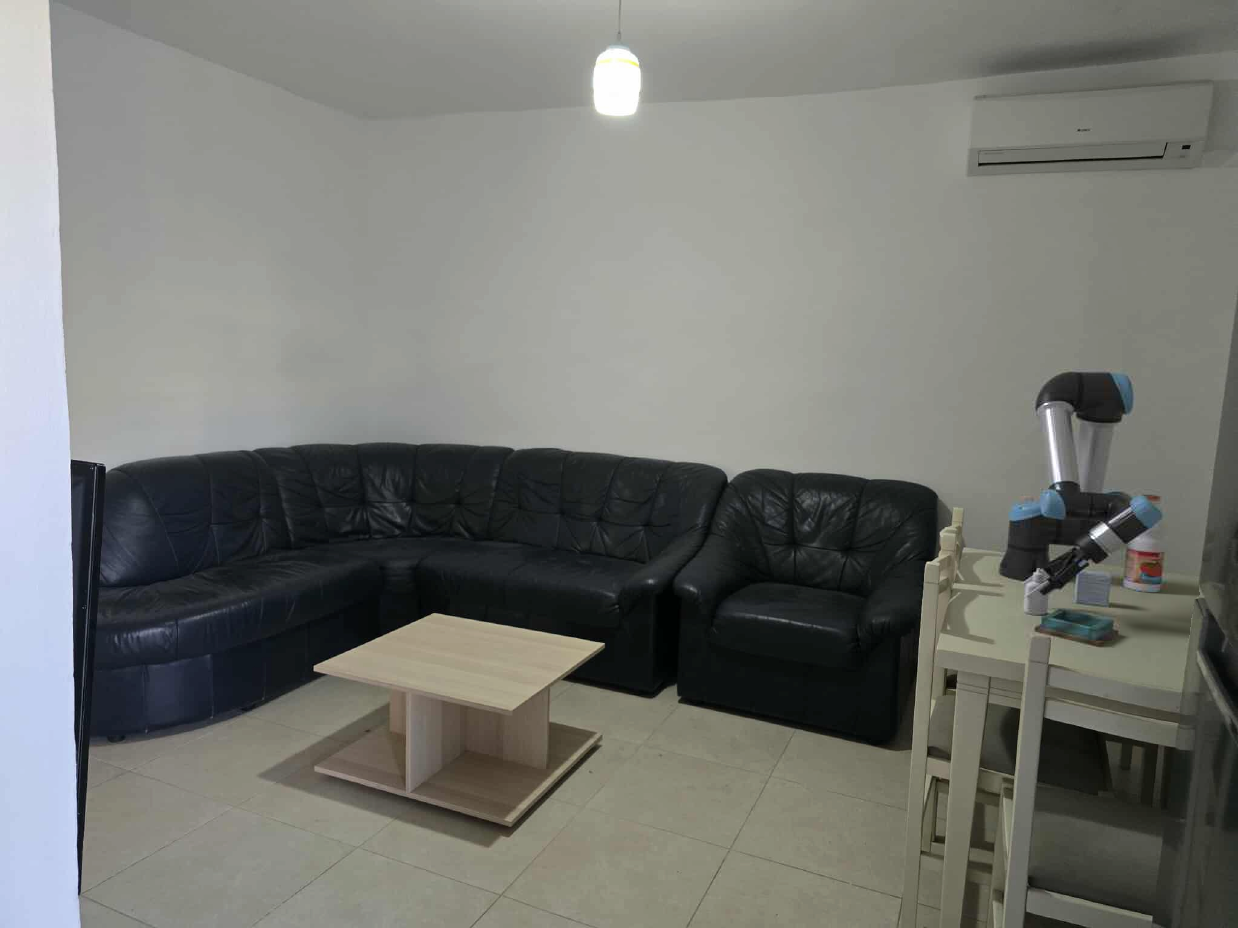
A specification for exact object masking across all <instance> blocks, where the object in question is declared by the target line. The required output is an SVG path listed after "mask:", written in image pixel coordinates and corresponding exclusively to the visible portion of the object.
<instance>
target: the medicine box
mask: <svg viewBox="0 0 1238 928" xmlns="http://www.w3.org/2000/svg"><path fill="white" fill-rule="evenodd" d="M1111 583H1112V576H1111V574H1110V573H1109V572H1104V571H1102V572H1101V571H1095V570H1094V571H1093V570H1087V569H1086V570H1084V569H1083V570H1082V571H1081V572H1080V573H1078V574H1077V575H1076V576H1075V587H1074V601H1075V603H1076V604H1082V605H1083V604H1085V605H1092V606H1099V607H1106V608H1107V607H1109V602H1110V593H1111Z"/></svg>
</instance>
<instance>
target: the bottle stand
mask: <svg viewBox="0 0 1238 928" xmlns="http://www.w3.org/2000/svg"><path fill="white" fill-rule="evenodd" d="M1040 622H1041V623H1040V624H1038V625H1035V627H1034V632H1036V633H1041V634H1044V633H1045V635H1048V636H1053V637H1058V638H1061V639H1066V640H1069V641H1074V642H1078V643H1082V644H1086V645H1089V646H1094V647H1098V648H1099V647H1100V646H1102V645H1104V644H1105V643H1107V642H1109V641H1110V640H1112V639H1113V638H1115V637H1116V636H1117V637H1118V635H1119V630H1117V629H1114V623H1115V622H1114V619H1110V618H1104V617H1101V616H1096V615H1092V614H1087V613H1082V612H1077V611H1073V610H1069V609H1064V608H1059V609H1057V610H1054V611H1052V612H1050V613H1047V614H1045V615H1044V616H1042V617H1041V621H1040Z"/></svg>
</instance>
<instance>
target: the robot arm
mask: <svg viewBox="0 0 1238 928" xmlns="http://www.w3.org/2000/svg"><path fill="white" fill-rule="evenodd" d="M1133 406H1134V390H1133V384H1132V381H1131V379H1130V377H1128V375H1126V374H1125V373H1118V372H1111V371H1109V372H1108V371H1107V372H1106V371H1103V372H1101V371H1097V372H1094V371H1090V372H1088V371H1087V372H1086V371H1083V372H1081V371H1078V372H1077V371H1067V372H1066V371H1065V372H1062V373H1060V374H1057V375H1055V376H1052V378H1050V379H1049V380H1048V381H1047V382H1046V383H1045V384H1044V385H1043V386H1042V387H1041V389H1040V391H1039V392H1038V394H1037V397H1036V401H1035V416H1036V417H1037V419H1038V420H1039V421H1040V425H1041V434H1042V435H1041V436H1042V442H1043V443H1042V444H1043V451H1044V460H1045V467H1046V468H1045V470H1046V476H1047V477H1046V478H1047V485H1048V489H1045V490H1043V491H1042V493H1041V496H1040V500H1029V501H1020V502H1016V503H1014V504H1013V505H1012V506H1011V507H1010V511H1009V517H1008V533H1007V546H1006V550H1005V553H1004V555H1003V557H1002V558H1001V561H1000V563H999V567H998V568H999V569H998V573H999V574H1000V575H1001V576H1003V577H1006V578H1010V579H1014V580H1019V581H1023V582H1022V585H1023V586H1024V587H1025V586H1026V584H1027V583H1029V582H1032V581H1033V573H1035V572H1036V571H1037V568H1040V570H1041V573H1042V574H1044V576H1043V584H1042V585H1040V586H1039V587H1037V588H1036V589H1035V590H1033V591H1032V592H1030V593H1029V594H1027V595H1026V597H1027V598H1028V599H1029V600H1030V601H1031V602H1032V603H1033V604H1035V603H1037V602H1038V601H1040V600H1041V599H1043V598H1044V597H1046V596H1047V595H1048V594H1049V595H1050V594H1051V593H1053V592H1054V591H1055V590H1063V588H1064V587H1065V586H1067V584H1068V583H1069V582H1071V581H1072V580H1074V578H1076V575H1077V574H1078V573H1080V572H1081V571H1082V570H1084V569H1086V568H1088V567H1089V566H1090V563H1089V562H1088V561H1089V560H1091V561H1092V562H1093V563H1094V564H1095V565H1099V564H1100V563H1101V562H1103V561H1105V560H1106V559H1108V557H1109V554H1111V555H1112V554H1114V553H1115V552H1117V551H1118V550H1119V551H1120V552H1121V551H1123V549H1124V548H1123V547H1124V546H1125V545H1127V543H1129V542H1130V541H1132V540H1133V539H1135V538H1136V537H1138V536H1139V535H1141V534H1142V533H1144V532H1145V531H1146V530H1148V529H1149V528H1152V527H1153V526H1154V525H1155V524H1156V523H1157V522H1159V521H1160V520H1161V519H1162V518H1163V519H1164V514H1163V513H1162V511H1161V510H1159V509H1160V508H1159V509H1158V508H1157V507H1156V506H1155V505H1154V504H1153V503H1152V502H1151V501H1149V500H1148V499H1147V498H1146V497H1145V496H1142V495H1143V494H1141V495H1138V496H1136V497H1135V498H1133V497H1132V496H1131V495H1130V494H1128V493H1126V492H1124V491H1122V490H1118V489H1116V490H1115V489H1113V490H1108V491H1106V492H1103V491H1104V484H1105V480H1106V474H1107V469H1108V463H1109V457H1110V451H1111V446H1112V442H1113V435H1114V430H1115V427H1116V426H1117V425H1118V424H1120V423H1122V420H1123V416H1124V415H1125V416H1126V415H1129V414H1131V412H1132V410H1133V408H1134V407H1133ZM1074 413H1075V418H1076V420H1077V421H1079V422H1080V425H1079V429H1078V436H1077V441H1076V445H1075V438H1074V437H1075V436H1074V429H1073V424H1072V422H1073V421H1072V416H1073V415H1074ZM1051 545H1053V546H1067V547H1072V548H1071V549H1070V550H1068V551H1066V552H1064V553H1062V554H1060V555H1059V556H1057V557H1055V558H1053V559H1052V560H1051V557H1050V552H1049V551H1050V546H1051Z"/></svg>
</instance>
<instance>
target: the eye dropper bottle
mask: <svg viewBox="0 0 1238 928" xmlns="http://www.w3.org/2000/svg"><path fill="white" fill-rule="evenodd" d="M1043 576H1044V574H1042V573H1041V570H1040V568H1037V571H1036V572H1035V573H1033V581H1032V582H1029V583H1027V584H1026V586H1024V599H1023V607H1022V608H1023V609H1022V611H1023V612H1024V613H1025V614H1027V615H1031V616H1035V615H1036V616H1043V615H1044V616H1045V615H1048V608H1049V607H1048V606H1049V597H1050V596H1049V595H1050V594H1048V595H1047V596H1046V597H1044V598H1043V599H1041V600H1040V601H1038V602H1037V603H1035V604H1033V603H1032V602H1031V601H1030V600H1029V599H1028V598H1027V597H1026V595H1027V594H1029V593H1030V592H1032V591H1033V590H1035V589H1036V588H1037V587H1039V586H1040V585H1042V584H1043V583H1044V582H1043Z"/></svg>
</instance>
